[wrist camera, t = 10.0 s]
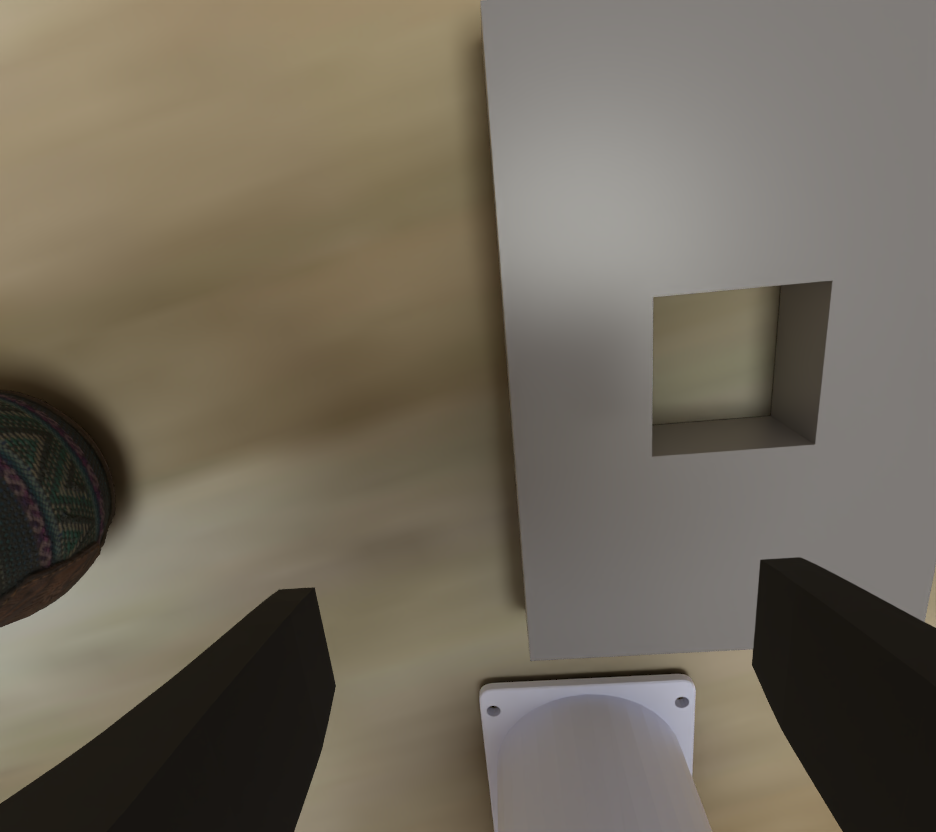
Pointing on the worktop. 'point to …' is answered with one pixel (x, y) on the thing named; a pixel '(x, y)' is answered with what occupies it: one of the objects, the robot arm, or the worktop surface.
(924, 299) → the grey flat plate
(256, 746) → the robot arm
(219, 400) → the worktop surface
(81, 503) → the mate gourd
